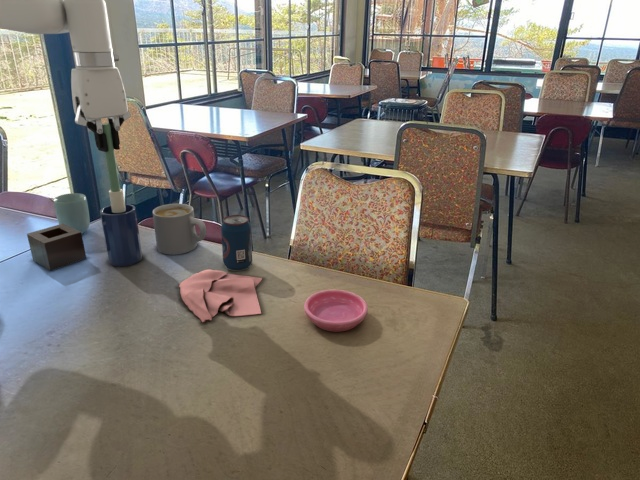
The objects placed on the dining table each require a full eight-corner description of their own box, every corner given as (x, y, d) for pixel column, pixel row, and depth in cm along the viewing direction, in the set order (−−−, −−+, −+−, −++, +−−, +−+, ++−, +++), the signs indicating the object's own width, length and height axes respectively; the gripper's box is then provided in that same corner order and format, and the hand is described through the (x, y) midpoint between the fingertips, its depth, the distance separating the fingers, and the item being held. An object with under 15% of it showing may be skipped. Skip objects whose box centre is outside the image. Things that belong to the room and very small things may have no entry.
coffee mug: (148, 249, 122) (143, 212, 118) (175, 235, 131) (171, 201, 127) (189, 260, 117) (185, 222, 113) (215, 246, 125) (212, 210, 121)
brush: (109, 211, 112) (94, 124, 104) (121, 207, 114) (107, 122, 106) (116, 214, 110) (102, 125, 102) (128, 210, 112) (115, 124, 104)
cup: (80, 239, 127) (74, 203, 123) (54, 236, 128) (46, 201, 124) (97, 228, 134) (91, 194, 130) (72, 226, 135) (65, 192, 131)
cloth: (203, 267, 114) (202, 257, 113) (287, 284, 107) (287, 274, 106) (147, 309, 96) (145, 299, 95) (244, 333, 90) (243, 322, 89)
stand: (33, 260, 115) (26, 233, 113) (68, 248, 122) (63, 223, 119) (50, 271, 111) (44, 243, 108) (86, 258, 117) (81, 231, 114)
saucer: (347, 344, 87) (347, 330, 86) (291, 322, 93) (291, 309, 92) (377, 314, 97) (378, 300, 95) (325, 296, 103) (326, 283, 102)
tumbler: (102, 260, 116) (93, 209, 111) (130, 250, 122) (123, 201, 117) (120, 269, 112) (111, 217, 107) (148, 258, 118) (141, 208, 112)
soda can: (220, 261, 117) (217, 215, 112) (248, 257, 119) (246, 212, 114) (226, 274, 111) (223, 226, 106) (255, 269, 113) (254, 222, 109)
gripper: (119, 59, 107) (131, 141, 114) (46, 61, 95) (64, 153, 102) (139, 60, 102) (150, 146, 110) (65, 63, 91) (83, 159, 98)
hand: (108, 149), depth 106 cm, fingers closed on brush, 2 cm apart
